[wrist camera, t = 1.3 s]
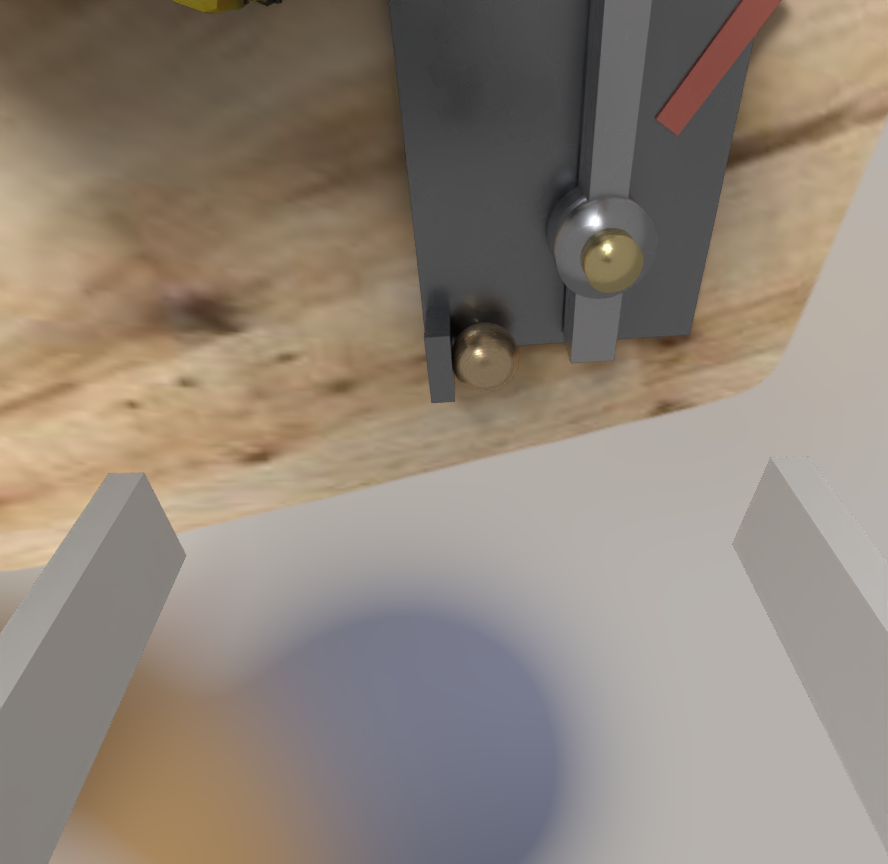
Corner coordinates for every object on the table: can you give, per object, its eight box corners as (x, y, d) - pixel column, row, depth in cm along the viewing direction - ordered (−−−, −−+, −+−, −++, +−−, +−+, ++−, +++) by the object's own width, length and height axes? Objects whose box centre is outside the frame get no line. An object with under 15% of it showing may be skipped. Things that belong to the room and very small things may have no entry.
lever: (567, -340, 18) (721, -769, 8) (717, -359, 18) (1081, -831, 8) (543, 339, 34) (583, 498, 24) (623, 334, 34) (701, 492, 23)
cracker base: (378, -112, 23) (357, -141, 18) (816, -160, 22) (930, -206, 17) (430, 364, 37) (426, 426, 32) (698, 347, 36) (741, 409, 31)
